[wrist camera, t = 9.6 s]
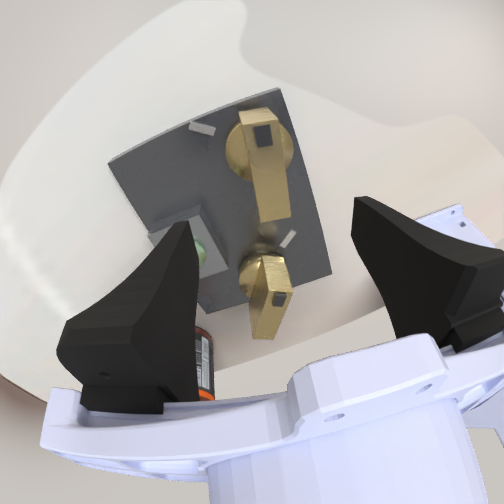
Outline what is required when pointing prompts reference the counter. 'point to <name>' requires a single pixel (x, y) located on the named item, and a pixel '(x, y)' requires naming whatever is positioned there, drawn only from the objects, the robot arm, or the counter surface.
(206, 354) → the supplement bottle
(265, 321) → the knob
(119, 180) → the instrument base
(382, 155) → the counter surface
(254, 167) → the knob
